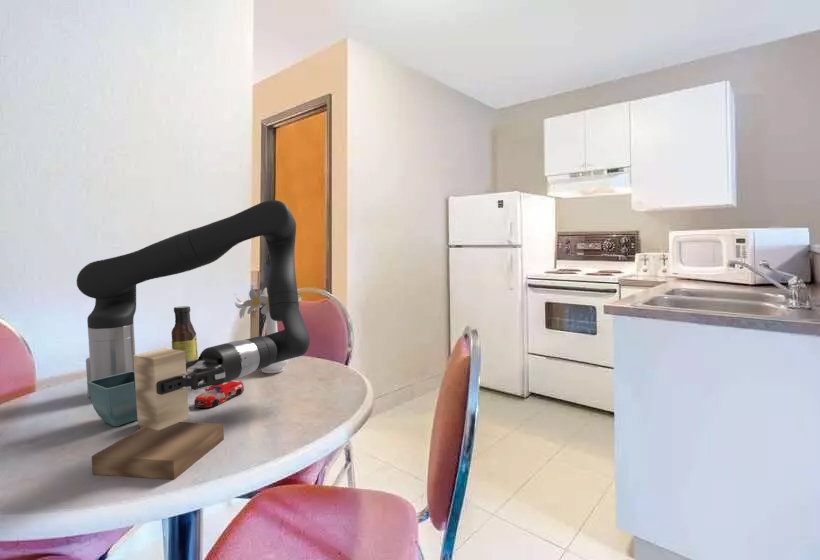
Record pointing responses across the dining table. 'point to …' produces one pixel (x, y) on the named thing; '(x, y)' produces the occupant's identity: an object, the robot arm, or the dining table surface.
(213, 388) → the race car
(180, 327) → the sauce bottle
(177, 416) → the oak pillar
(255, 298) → the flower vase
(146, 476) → the walnut slab
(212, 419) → the dining table surface
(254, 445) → the dining table surface
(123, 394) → the flower pot
